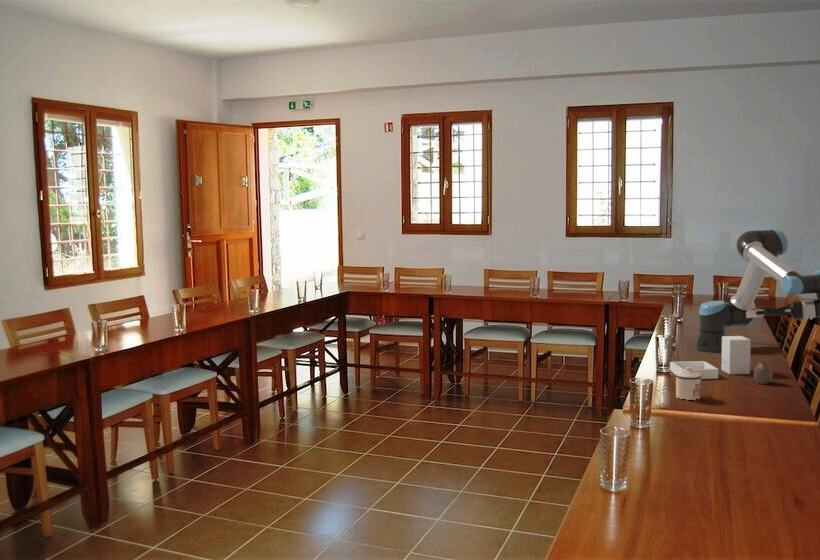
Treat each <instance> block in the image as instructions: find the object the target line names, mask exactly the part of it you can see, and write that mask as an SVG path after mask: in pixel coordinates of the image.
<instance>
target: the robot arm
mask: <svg viewBox="0 0 820 560" xmlns="http://www.w3.org/2000/svg"><path fill="white" fill-rule="evenodd" d="M788 247H789V241H788V239H787V236H786V234H785V233H784V232H783V231H781V230H780V229H761V230H748V231H745V232H743V233H742V234H741V235H740V236H739V237H738V239H737V240H736V250H737V253H738V254H739V255H740V256H741V257H742V258H743V259H744V260H746V261H748V265H747V267H746V270H745V272H744V275H743V277H742V279H741V282H740V284H739V287H738V289H737V291H736V294H735V295H732V296H731V297H730V299H729V300H728V302H727V303H726V302H725V301H723V300H710V301H709V300H708V301H705V302H702V303H701V304H700V306H699V312H698V313H699V327H698V328H699V330H698V331H699V334H698V336H697V339H696V341H695V347H694V348H695V350H697V351H701V352H707V353H708V352H709V353H722V336H726V328H734V327H735V328H736V327H745V326H750V325H752V324H754V322H755V321H756V319H757V318H763V319H766V317H772V316H775V317H787V316H788V315H791V316H792V319H793V320H803V318H804V319H810V321H811V320H813V318H814V319H815V318H820V269H818V270H815V271H814V272H813V274H812V275H811V274H810V275H802V274H800V273H799V272H797V271H796V270H794V269H793V268H792V267H791V266H789V265H788V264H787V263H785V262H784V261H782V260H781V259H780V258H778V257H779V256H783V255H785V254H786V253H787V250H788ZM766 274H768V275H769V276H770V277H772V278H773V279H774V280H775V281H777V282H778V283H780V286H781V289H782V291H783V293H784V294H786V295H791V296H792V295H793V296H797V295H806V294H807V295H809V294H815V295H816V299H807V300H805V299H804V300H802V301H801V300H796V301H791V302H790V307H789V306H788V307H787V306H781V307H779V306H778V307H776V308H768V307H763V308H761V309H757V307H756V303H755V302H754V301H755V299H756V298H757V295H758V292H759V290H760V289H761V286H762V283H764V282H763V281H764V279H765V277H766Z"/></svg>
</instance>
